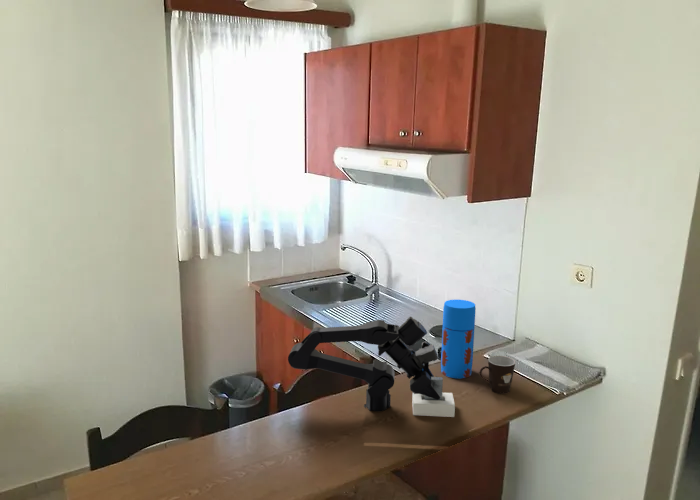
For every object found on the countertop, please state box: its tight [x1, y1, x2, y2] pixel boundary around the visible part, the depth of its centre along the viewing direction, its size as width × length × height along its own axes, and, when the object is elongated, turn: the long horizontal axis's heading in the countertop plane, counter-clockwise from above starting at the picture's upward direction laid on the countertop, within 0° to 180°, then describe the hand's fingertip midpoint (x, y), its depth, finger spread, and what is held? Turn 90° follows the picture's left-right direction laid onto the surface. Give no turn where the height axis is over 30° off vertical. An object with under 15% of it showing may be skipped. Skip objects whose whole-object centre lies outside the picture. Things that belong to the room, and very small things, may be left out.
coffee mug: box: [479, 355, 516, 395], centre depth 183 cm, size 12×9×10 cm
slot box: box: [411, 392, 456, 418], centre depth 168 cm, size 12×8×4 cm, turn 86°
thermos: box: [440, 299, 476, 379], centre depth 195 cm, size 11×11×25 cm
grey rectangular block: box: [424, 376, 444, 401], centre depth 168 cm, size 5×2×10 cm, turn 86°
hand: (438, 391), depth 167 cm, fingers open, 9 cm apart
